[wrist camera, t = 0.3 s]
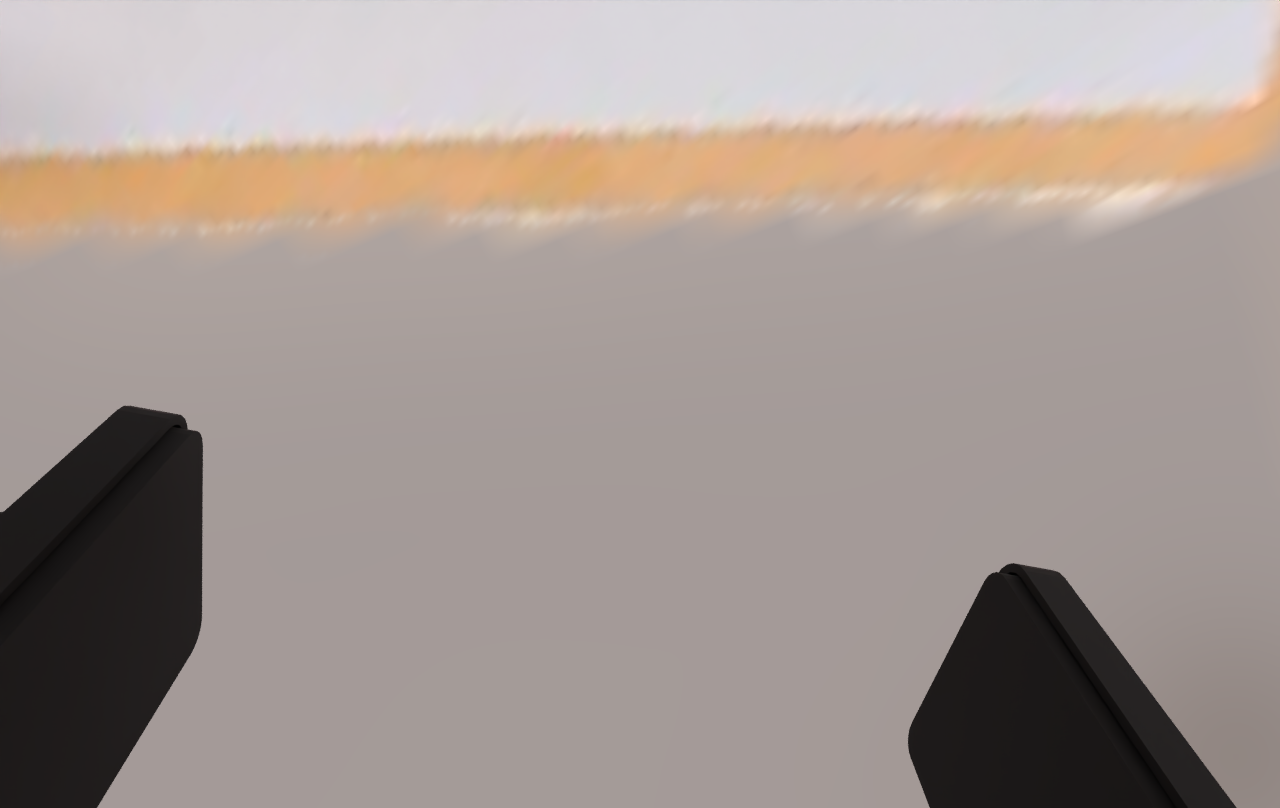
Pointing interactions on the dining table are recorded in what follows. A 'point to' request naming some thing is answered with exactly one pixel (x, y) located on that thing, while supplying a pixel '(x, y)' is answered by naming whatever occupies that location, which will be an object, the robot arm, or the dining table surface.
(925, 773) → the robot arm
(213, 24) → the dining table surface
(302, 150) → the dining table surface
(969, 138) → the dining table surface
